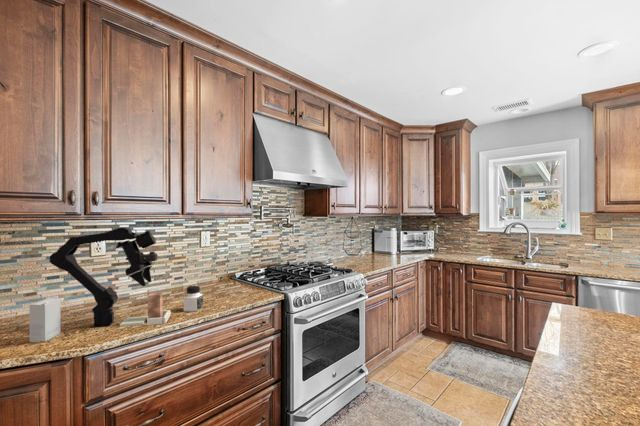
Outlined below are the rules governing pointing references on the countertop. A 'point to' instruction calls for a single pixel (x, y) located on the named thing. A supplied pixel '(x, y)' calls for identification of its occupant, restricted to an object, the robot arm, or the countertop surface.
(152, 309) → the pink rectangular block
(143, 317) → the lid board
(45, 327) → the skincare box
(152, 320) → the toolbox compartment
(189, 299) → the medicine bottle
